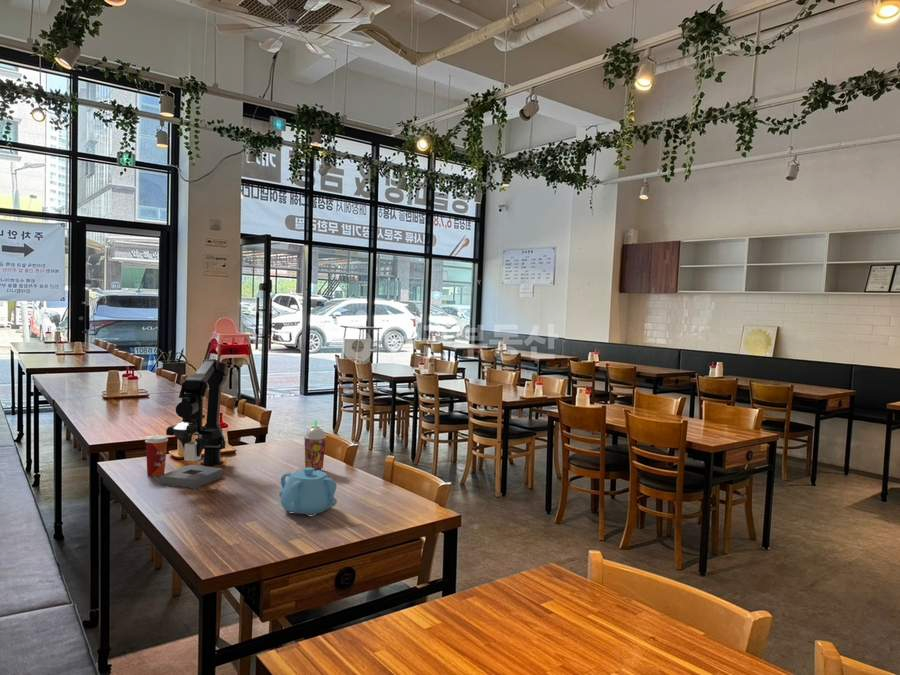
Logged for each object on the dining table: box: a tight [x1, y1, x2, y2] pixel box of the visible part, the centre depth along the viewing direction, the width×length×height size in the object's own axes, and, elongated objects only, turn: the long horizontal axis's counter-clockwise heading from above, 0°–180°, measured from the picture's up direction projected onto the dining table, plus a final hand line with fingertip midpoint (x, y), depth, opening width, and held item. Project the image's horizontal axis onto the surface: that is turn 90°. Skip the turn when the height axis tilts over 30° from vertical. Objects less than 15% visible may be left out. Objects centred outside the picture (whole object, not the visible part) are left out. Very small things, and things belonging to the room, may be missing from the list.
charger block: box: [183, 440, 202, 462], centre depth 217 cm, size 4×4×6 cm
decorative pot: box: [279, 467, 338, 515], centre depth 192 cm, size 16×16×14 cm
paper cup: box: [144, 434, 169, 477], centre depth 222 cm, size 8×8×14 cm
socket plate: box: [159, 464, 224, 489], centre depth 218 cm, size 16×14×3 cm
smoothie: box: [303, 419, 327, 471], centre depth 237 cm, size 8×8×20 cm
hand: (192, 455), depth 217 cm, fingers closed on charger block, 4 cm apart
